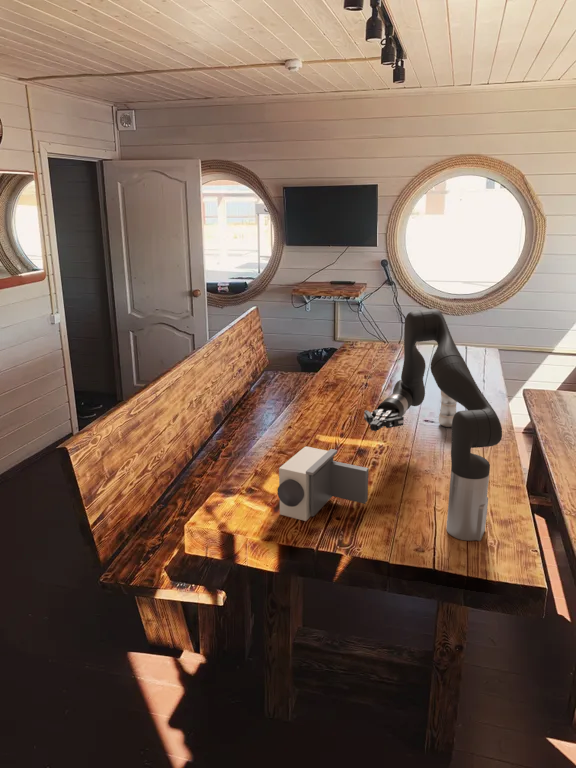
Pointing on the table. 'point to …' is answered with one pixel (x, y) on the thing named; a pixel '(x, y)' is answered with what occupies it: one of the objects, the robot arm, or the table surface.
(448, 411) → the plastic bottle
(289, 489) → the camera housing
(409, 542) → the table surface
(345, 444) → the table surface
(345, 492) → the side door
